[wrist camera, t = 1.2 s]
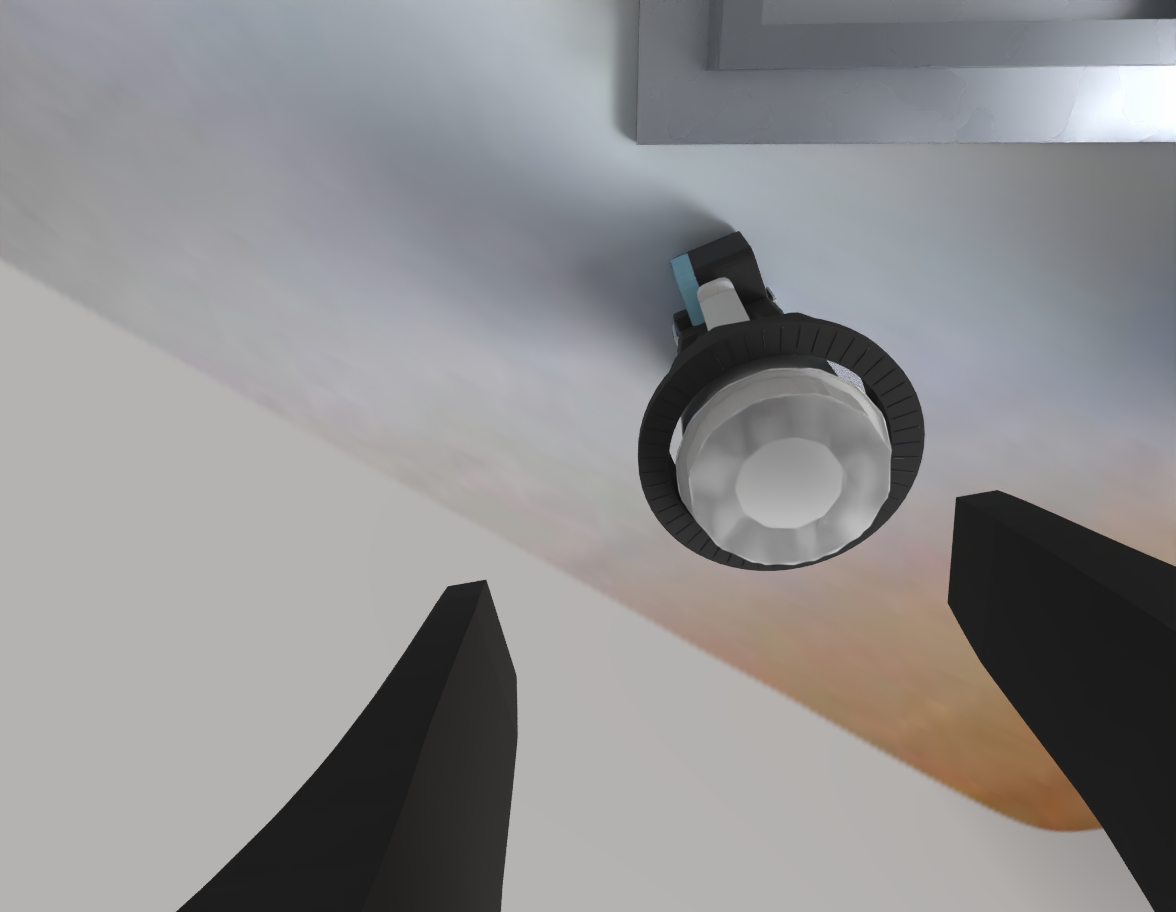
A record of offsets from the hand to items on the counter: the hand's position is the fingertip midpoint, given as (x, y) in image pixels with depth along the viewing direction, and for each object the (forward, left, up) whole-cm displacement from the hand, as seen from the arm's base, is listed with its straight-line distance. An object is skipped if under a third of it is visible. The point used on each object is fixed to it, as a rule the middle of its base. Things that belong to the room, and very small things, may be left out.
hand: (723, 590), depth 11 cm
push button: (-2, 0, -13) cm, 13 cm away
